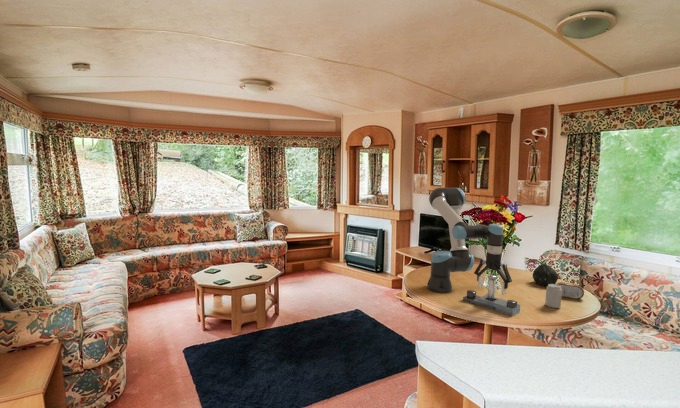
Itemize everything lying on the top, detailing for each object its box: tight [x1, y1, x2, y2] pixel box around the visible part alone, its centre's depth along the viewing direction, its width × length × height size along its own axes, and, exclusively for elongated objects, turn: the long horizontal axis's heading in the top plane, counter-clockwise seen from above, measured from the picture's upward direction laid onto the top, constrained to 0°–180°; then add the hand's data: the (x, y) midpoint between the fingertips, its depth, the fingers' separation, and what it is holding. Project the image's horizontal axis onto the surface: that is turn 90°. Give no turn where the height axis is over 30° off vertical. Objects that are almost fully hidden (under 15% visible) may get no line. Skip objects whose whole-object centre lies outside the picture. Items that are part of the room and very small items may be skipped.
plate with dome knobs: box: [462, 289, 521, 317], centre depth 203 cm, size 28×9×6 cm, turn 41°
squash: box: [532, 263, 559, 287], centre depth 243 cm, size 14×15×15 cm
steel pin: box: [486, 274, 498, 301], centre depth 202 cm, size 5×5×17 cm
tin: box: [556, 281, 585, 300], centre depth 220 cm, size 15×3×8 cm, turn 59°
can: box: [544, 283, 562, 309], centre depth 205 cm, size 8×8×12 cm
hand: (491, 290), depth 202 cm, fingers open, 13 cm apart
